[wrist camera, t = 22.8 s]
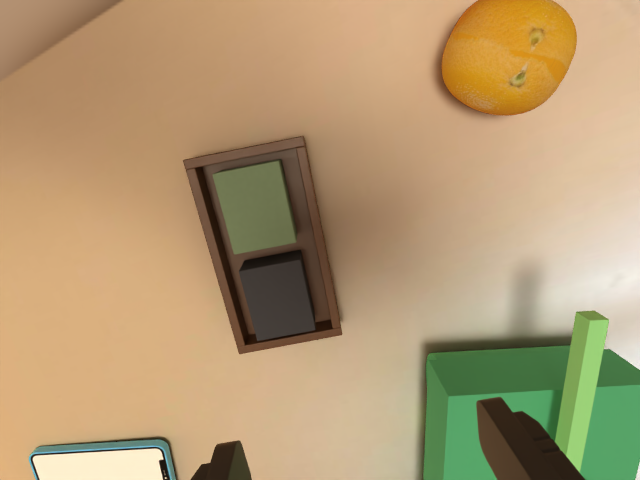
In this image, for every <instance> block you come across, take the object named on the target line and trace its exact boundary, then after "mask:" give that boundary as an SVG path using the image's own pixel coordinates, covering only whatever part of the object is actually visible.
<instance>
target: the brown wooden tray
mask: <svg viewBox="0 0 640 480" xmlns="http://www.w3.org/2000/svg"><path fill="white" fill-rule="evenodd" d="M277 159H281V160H282V164H283V169H284V174H285V178H286V183H287V187H288V192H289V197H290V201H291V206H292V210H293V215H294V220H295V224H296V229H297V242H296V243H292V244H287V245H282V246H277V247H271V248H266V249H261V250H256V251H251V252H246V253H240V254H234V253H233V249H232V245H231V242H230V238H229V234H228V231H227V227H226V223H225V220H224V216H223V212H222V209H221V205H220V201H219V197H218V194H217V190H216V186H215V183H214V179H213V174H214V173H216V172H219V171H222V170H227V169H232V168H237V167H242V166H247V165H252V164H257V163H262V162H267V161H272V160H277ZM183 162H184V165H185V169H186V172H187V176H188V179H189V183H190V186H191V190H192V193H193V196H194V200H195V203H196V207H197V210H198V214H199V217H200V221H201V224H202V227H203V231H204V234H205V238H206V241H207V245H208V248H209V252H210V255H211V259H212V262H213V265H214V269H215V272H216V276H217V279H218V283H219V286H220V290H221V293H222V296H223V300H224V303H225V307H226V310H227V314H228V317H229V321H230V324H231V328H232V331H233V334H234V338H235V341H236V345H237V348H238V352H239V354H243V353H248V352H254V351H259V350H264V349H270V348H275V347H280V346H286V345H291V344H296V343H302V342H307V341H312V340H318V339H323V338H328V337H333V336H339V335H342V330H341V324H340V318H339V313H338V308H337V303H336V298H335V293H334V288H333V283H332V278H331V273H330V268H329V263H328V257H327V252H326V247H325V242H324V237H323V232H322V227H321V222H320V217H319V212H318V207H317V202H316V197H315V191H314V186H313V181H312V176H311V171H310V166H309V161H308V156H307V151H306V146H305V141H304V137H303V136H301V137H296V138H291V139H286V140H281V141H276V142H271V143H266V144H261V145H256V146H251V147H246V148H241V149H236V150H231V151H226V152H221V153H216V154H211V155H206V156H201V157H196V158H191V159H186V160H183ZM296 250H301V252H302V257H303V261H304V266H305V270H306V275H307V280H308V284H309V289H310V294H311V298H312V303H313V307H314V312H315V326H316V330H313V331H308V332H303V333H297V334H292V335H287V336H281V337H276V338H271V339H265V340H260V341H257V338H256V334H255V331H254V327H253V323H252V319H251V316H250V312H249V308H248V305H247V301H246V297H245V294H244V290H243V286H242V282H241V279H240V275H239V270H240V268H241V266H242V264H243V262H244V261H245V260H249V259H254V258H260V257H265V256H270V255H275V254H280V253H285V252H291V251H296Z"/></svg>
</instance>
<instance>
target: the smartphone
mask: <svg viewBox="0 0 640 480" xmlns="http://www.w3.org/2000/svg"><path fill="white" fill-rule="evenodd" d="M29 462H30V465H31V467H32V470H33V473H34V476H35V479H36V480H176V477H175V473H174V468H173V464H172V459H171V455H170V450H169V446H168V444H167V443H166V442H165V441H163V440H159V439H156V440H139V441H123V442H106V443H89V444H72V445H56V446H40V447H38V448H36V449H35V450H34V451H33V453H32V454H31V455H30V456H29Z"/></svg>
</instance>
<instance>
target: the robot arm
mask: <svg viewBox="0 0 640 480" xmlns="http://www.w3.org/2000/svg"><path fill="white" fill-rule="evenodd" d="M476 408H477V421H478V434H479V441H480V445H481V448H482V451H483V454H484V456H485V458H486V460H487V462H488V464H489V466H490V467H491V469H492V471H493V473H494V475H495V476H496V478H497V480H585V479H584V477H583V476H582V475H581V474H580V472H579V471H578V470H577V469H576V468H575V466H574V465H573V464H572V463H571V461H570V460H569V459H568V458H567V456H566V455H565V454H564V453H563V451H561V450H560V448H559V446H558V445H557V444H556V443H555V442H554V440H553V439H551V438H550V435H549V434H548V433H547V432H546V430H545V429H544V428H543V427H542V425H541V424H540V423H539V422H538V421H537V420H535V419H534V418H532V417H531V416H529V415H528V414H526V413H525V412H523V411H518V412H512V411H511V409H510V408H509V406H508V405H507V404H506V402H505V401H504V400H503V399H502V398H501V397H495V398H489V399H483V400H478V401H477V402H476ZM191 480H252V479H251V474H250V470H249V467H248V464H247V460H246V457H245V453H244V450H243V447H242V444H241V442H240V441H233V442H227V443H221V444H217V445H216V447H215V450H214V453H213V456H212V459H211V463H207V464H202V465H201V466H200V467H199V469H198V470H197V472H196V473H195V474H194V476H193V477H192V478H191Z"/></svg>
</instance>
